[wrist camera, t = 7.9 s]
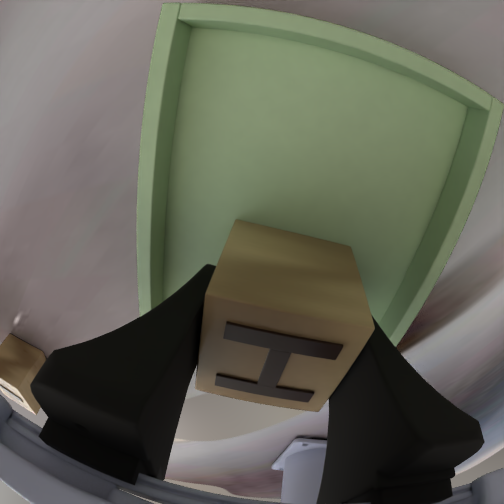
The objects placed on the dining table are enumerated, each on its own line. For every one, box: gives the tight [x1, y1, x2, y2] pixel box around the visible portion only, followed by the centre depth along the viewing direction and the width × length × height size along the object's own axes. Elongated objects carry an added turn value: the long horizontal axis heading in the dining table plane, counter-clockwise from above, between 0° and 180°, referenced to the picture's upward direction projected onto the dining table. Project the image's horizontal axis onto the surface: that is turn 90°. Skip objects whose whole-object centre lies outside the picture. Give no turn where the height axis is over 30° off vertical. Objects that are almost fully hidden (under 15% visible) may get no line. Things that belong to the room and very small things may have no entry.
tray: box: [137, 3, 504, 347], centre depth 11 cm, size 11×14×2 cm
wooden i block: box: [0, 334, 46, 415], centre depth 19 cm, size 4×4×5 cm
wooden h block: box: [195, 219, 375, 412], centre depth 10 cm, size 4×4×5 cm
